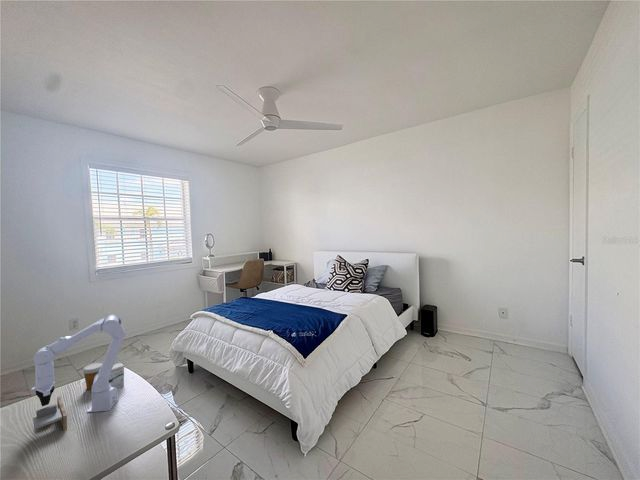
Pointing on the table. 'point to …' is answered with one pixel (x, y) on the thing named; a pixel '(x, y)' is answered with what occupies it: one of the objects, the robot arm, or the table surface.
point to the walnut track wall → (62, 412)
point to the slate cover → (46, 416)
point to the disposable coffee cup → (91, 373)
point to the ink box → (117, 375)
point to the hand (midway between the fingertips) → (45, 404)
